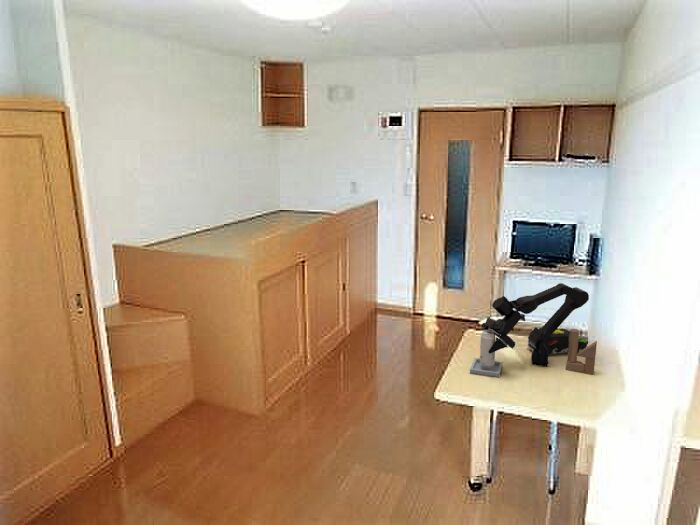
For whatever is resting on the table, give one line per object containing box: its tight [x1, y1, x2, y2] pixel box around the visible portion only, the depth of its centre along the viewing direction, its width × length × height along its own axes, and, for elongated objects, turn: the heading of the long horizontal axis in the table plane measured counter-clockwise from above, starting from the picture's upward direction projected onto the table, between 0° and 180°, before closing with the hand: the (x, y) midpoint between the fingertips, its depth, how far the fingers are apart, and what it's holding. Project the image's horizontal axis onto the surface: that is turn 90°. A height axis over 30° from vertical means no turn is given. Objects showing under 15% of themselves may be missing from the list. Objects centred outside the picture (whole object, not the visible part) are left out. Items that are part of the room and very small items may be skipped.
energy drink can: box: [479, 330, 496, 368], centre depth 220 cm, size 6×6×15 cm
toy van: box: [526, 327, 588, 358], centre depth 238 cm, size 11×25×10 cm, turn 99°
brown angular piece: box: [565, 328, 598, 375], centre depth 217 cm, size 4×11×18 cm, turn 60°
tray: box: [469, 357, 504, 379], centre depth 222 cm, size 12×12×2 cm
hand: (484, 350), depth 219 cm, fingers closed on energy drink can, 6 cm apart
